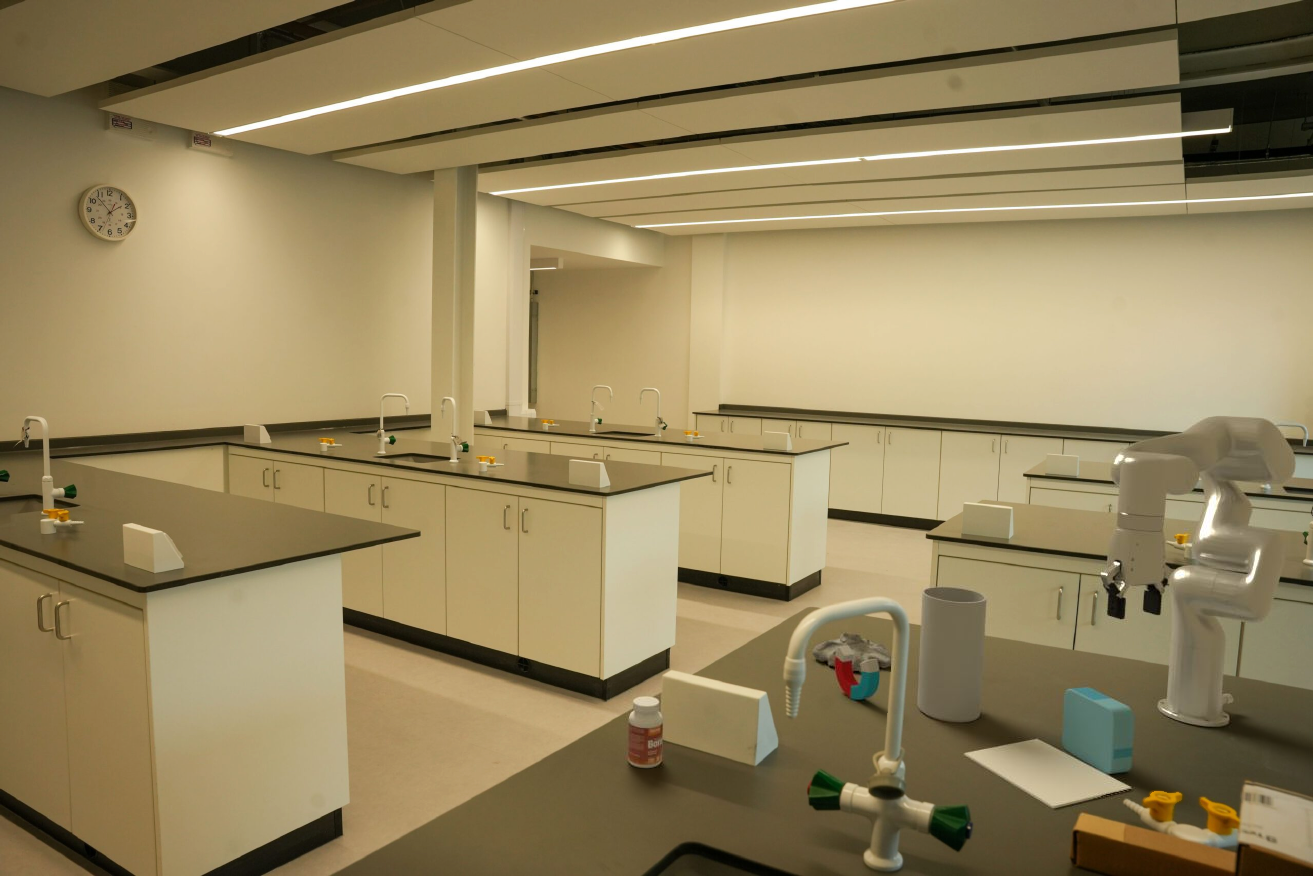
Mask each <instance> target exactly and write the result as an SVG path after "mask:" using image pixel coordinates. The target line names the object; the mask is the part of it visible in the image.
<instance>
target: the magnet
mask: <svg viewBox="0 0 1313 876" xmlns="http://www.w3.org/2000/svg"><path fill="white" fill-rule="evenodd" d="M853 656H854V653H853V652H852V650H851V649H850V647H849V646H848V645H846V646H840V647H838V649H837V652H836V656H835V667H834V670H835V675H836V679H837V683H838V684H839V686H840V688H841V690H842V691H843V692H844V694H845V695H846V696H848V697H849V698H850V699H853V700H856V701H857V700H865V699H869V698H871V697H873V696H874V695H875V694H876V693H877V690H878V689H879V685H880V677H881V676H880V667H879V665H878V661H877V659H871V660H866V661H864V662H862V663H860V666H861V673H860V674H861V679H860V682H859V681H858V680H857V679H856V677H855V674H854V672H853V671H852V660H853Z"/></svg>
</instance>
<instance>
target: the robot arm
mask: <svg viewBox="0 0 1313 876" xmlns="http://www.w3.org/2000/svg"><path fill="white" fill-rule="evenodd" d="M1296 465H1297V464H1296V457H1295V453H1294V451H1293V449H1292V447H1291V445H1290V444H1289V443H1288V440H1287V439H1286V438H1285V436H1284V435H1283V433H1282V431H1281V430H1280V429H1279V428H1278V426H1276V425H1275V424H1274V423H1273V422H1271V420H1268V419H1266V418H1261V417H1246V416H1230V415H1229V416H1225V415H1216V416H1214V415H1213V416H1209V417H1206V418H1204V419H1202V420H1199V421H1198V422H1197V423H1195V424H1193V425H1192V426H1190V427H1188V428H1187V429H1185V430H1184V431H1183V432H1180V433H1175V434H1167V435H1164V436H1160V437H1154V438H1149V439H1144V440H1143V439H1142V440H1140V441H1137V442H1134V443H1132V444H1129V445H1128V446H1127V447H1125V448H1123V449H1122V450H1120V452H1118V453H1117V455H1116V456H1115V457H1114V459H1113V461H1112V464H1111V466H1110V477H1111V479H1112V482H1113V483H1114V484H1115V486H1118V500H1117V501H1118V502H1117V515H1116V526H1115V527H1116V528H1113V532H1112V535H1111V538H1110V543H1109V547H1108V553H1107V559H1106V568H1105V569H1104V570H1102V572H1101V573H1100V579H1101V581H1102V587H1103V588H1104V590H1105V593H1106V595H1108V596H1107V608H1106V609H1107V610H1106V611H1107V612H1106V614H1107V616H1108V617H1112V618H1115V619H1118V620H1125V618H1126V605H1127V598H1126V597H1124V596H1125V595H1126V593H1127V591H1128V589H1129V588H1130V587H1137V586H1139V587H1140V586H1145V588H1146V589H1147V590H1146V589H1145V590H1143V598H1142V599H1143V600H1142V601H1143V602H1142V611H1143V612H1144V613H1148V614H1151V615H1154V616H1161V613H1162V602H1163V601H1162V597H1163V594H1165V592H1166V589H1165V588H1166V586H1167V585H1168V587H1169V588H1168V589H1169V597H1170V604H1171V632H1170V633H1171V634H1170V647H1169V648H1170V649H1169V663H1168V664H1169V665H1168V679H1167V680H1168V681H1167V691H1166V692H1167V693H1166V698H1163V699H1160V700H1159V701H1158V702H1157V710H1159V712H1161V713H1162V714H1163V715H1164V716H1166V717H1168V718H1171V719H1173V720H1176V721H1179V722H1182V723H1185V724H1189V725H1194V726H1198V727H1199V726H1201V727H1212V728H1219V727H1224V726H1227V725H1228V724H1229V723H1230V715H1229V713H1227V712H1226V711H1224V710H1223V706H1224V705H1225V704H1231V703H1233V702H1234V696H1232V694H1230V693H1223V682H1224V670H1225V669H1224V666H1225V656H1226V655H1225V654H1226V645H1227V644H1226V643H1227V639H1226V634H1225V630H1224V628H1223V626H1222V625H1221V623H1220V622H1219V620H1218V619H1217V617H1220V618H1223V619H1228V620H1232V621H1237V622H1243V623H1248V624H1259V623H1262V622H1264V621H1265V620H1266V619H1267V618H1268V616H1269V614H1270V611H1271V609H1272V605H1273V601H1274V598H1275V595H1276V592H1277V589H1278V586H1279V582H1280V578H1281V575H1282V571H1283V568H1284V563H1285V559H1286V544H1285V540H1284V538H1283V536H1282V535H1281V534H1280V533H1279V532H1277V531H1275V530H1273V529H1270V528H1266V527H1259V526H1252V525H1249V524H1250V520H1251V518H1252V514H1253V505H1252V503H1251V501H1250V499H1249V498H1248V496H1247V495H1246V494H1245V493H1244V491H1243V490H1242V489H1241V488H1240V487H1239V486H1238V484H1237V483H1236V481H1237V482H1243V483H1244V482H1245V483H1254V484H1255V483H1256V484H1266V485H1282V484H1286V483H1287V482H1289V481H1290V480H1291V479H1292V477H1293V475H1294V474H1295V471H1296ZM1199 481H1200V483H1201V485H1202V488H1203V492H1204V493H1203V494H1204V503H1203V507H1202V511H1201V514H1200V517H1199V520H1198V523H1197V526H1196V529H1195V531H1194V535H1193V539H1192V543H1191V548H1190V549H1191V554H1192V557H1193V558H1194V559H1195V560H1196V561H1197V562H1199V563H1202V564H1205V565H1208V566H1202V565H1195V564H1194V565H1193V564H1191V565H1182V566H1179V567H1177V568H1176V569H1175V570H1173V572H1172V568H1170V566H1168V565H1167V564H1166V540H1165V533H1164V530H1165V520H1166V518H1165V517H1166V502H1167V495H1170V496H1171V495H1172V496H1183V495H1188V494H1189V493H1190V492H1192V491H1193V490H1194V489H1195V488H1196V487H1197V486H1198V483H1199ZM1209 566H1210V567H1209ZM1215 567H1216V568H1215ZM1217 567H1218V568H1217ZM1220 568H1222V569H1220ZM1225 569H1228V570H1225ZM1229 570H1235V571H1229ZM1236 571H1239V572H1236ZM1241 572H1243V573H1241ZM1244 572H1245V573H1244ZM1168 583H1169V584H1168ZM1118 586H1120V587H1118Z"/></svg>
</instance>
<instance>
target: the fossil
mask: <svg viewBox="0 0 1313 876" xmlns="http://www.w3.org/2000/svg"><path fill="white" fill-rule="evenodd" d="M846 645H848V646H849V647H850V649H851V650H852V652H853V653H854V656H853V660H852V671H853V673H854V671H859V673H860V674H862V673H861V666H860V663H862V662H864V661H866V660H871V659H877V661H878V665H879V668H882V669H886V668H889V667H891V666H892V664H891V656H892V655H891V654H890V653H889V652H888V650H886V647H885V645H884V644H883V643H873V642H872V641H870V638H862V637H861V635H860V634H855V633H854V634H853V633H846V632H845V633H844V632H843V633H842V634H840V636H839V638H837V639H829V640H827V641H823V642H821V643H819V644H817V645H816V646H815V647H814V648H813V650H812V655H813V656H814V658H815V659H816V660H817V661H819V662H821V663H822V662H824V663H825V662H827V666H828V667H830V666H831V667H834V668H835V656H836V652H837V649H838V647H840V646H846Z"/></svg>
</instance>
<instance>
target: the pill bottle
mask: <svg viewBox="0 0 1313 876" xmlns="http://www.w3.org/2000/svg"><path fill="white" fill-rule="evenodd" d="M632 709H633V711H631V712H630V714H629V717H628V731H627V734H628V739H627V740H628V741H627V759H628V762H629V764H631V766H634V767H637V768H641V769H650V768H654V767H657V766H659V765H660V764H661V762H662V761H663V740H664V739H663V736H664V735H663V734H664V733H663V732H664V717H663V715H662V713H661V712H660V701H659V699H658V698H656V697H653V696H646V695H645V696H638V697H635V698H634V699H633V700H632Z"/></svg>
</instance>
